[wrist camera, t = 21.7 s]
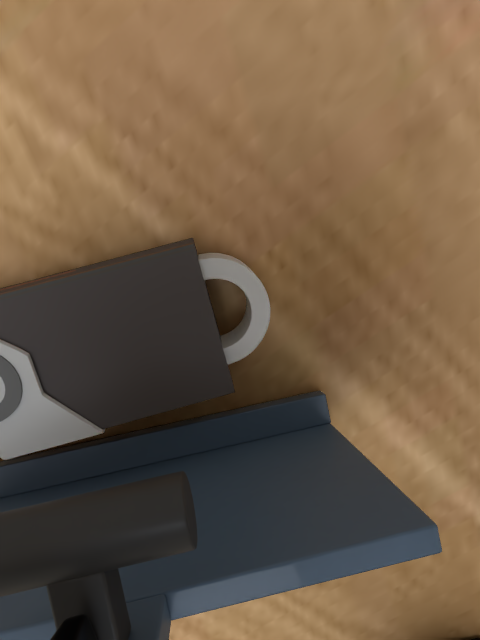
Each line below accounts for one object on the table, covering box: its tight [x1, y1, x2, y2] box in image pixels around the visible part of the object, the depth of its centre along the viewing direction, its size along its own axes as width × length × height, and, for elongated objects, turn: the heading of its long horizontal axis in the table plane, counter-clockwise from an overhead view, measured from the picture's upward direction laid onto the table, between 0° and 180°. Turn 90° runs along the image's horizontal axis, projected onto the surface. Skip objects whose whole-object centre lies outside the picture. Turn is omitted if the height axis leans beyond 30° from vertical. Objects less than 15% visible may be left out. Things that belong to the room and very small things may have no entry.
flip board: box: [0, 391, 442, 640], centre depth 15 cm, size 14×17×4 cm
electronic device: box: [0, 238, 270, 460], centre depth 18 cm, size 7×3×15 cm
